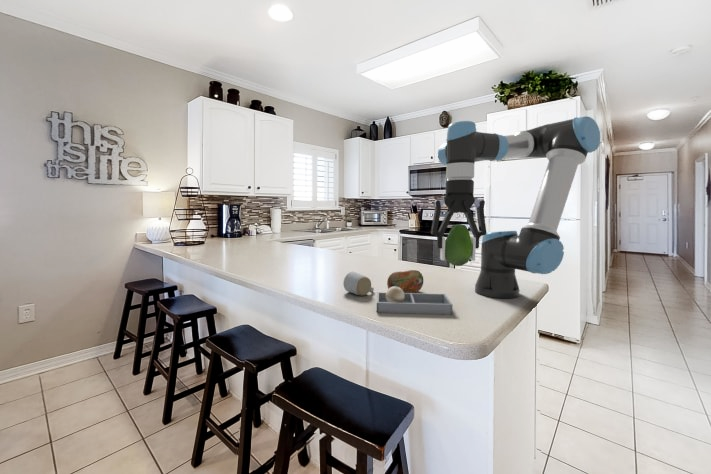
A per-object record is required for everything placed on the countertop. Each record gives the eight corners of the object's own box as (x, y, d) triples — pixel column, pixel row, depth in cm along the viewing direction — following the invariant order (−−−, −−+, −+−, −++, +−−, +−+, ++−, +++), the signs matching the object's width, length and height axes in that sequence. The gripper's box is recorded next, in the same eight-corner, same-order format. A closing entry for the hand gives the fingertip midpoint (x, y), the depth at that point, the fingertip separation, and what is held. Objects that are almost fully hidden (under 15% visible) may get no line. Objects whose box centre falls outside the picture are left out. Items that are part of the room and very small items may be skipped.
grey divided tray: (444, 302, 110) (444, 294, 109) (452, 314, 98) (452, 304, 98) (376, 300, 111) (377, 292, 111) (376, 312, 100) (376, 302, 99)
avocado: (477, 266, 94) (479, 224, 92) (459, 269, 89) (461, 225, 88) (454, 262, 100) (455, 222, 99) (437, 264, 96) (438, 223, 94)
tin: (390, 296, 117) (390, 273, 116) (385, 294, 120) (385, 271, 119) (423, 291, 124) (424, 269, 123) (418, 289, 126) (419, 268, 126)
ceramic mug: (357, 298, 114) (358, 276, 114) (342, 293, 121) (343, 272, 120) (379, 293, 121) (379, 273, 121) (364, 289, 128) (364, 269, 127)
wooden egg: (403, 302, 108) (404, 284, 107) (405, 308, 102) (405, 289, 101) (385, 301, 108) (385, 284, 108) (385, 307, 102) (385, 288, 102)
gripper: (492, 180, 95) (488, 257, 98) (420, 180, 96) (419, 257, 99) (502, 178, 88) (498, 262, 90) (425, 178, 89) (423, 261, 91)
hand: (457, 259), depth 94 cm, fingers closed on avocado, 8 cm apart
